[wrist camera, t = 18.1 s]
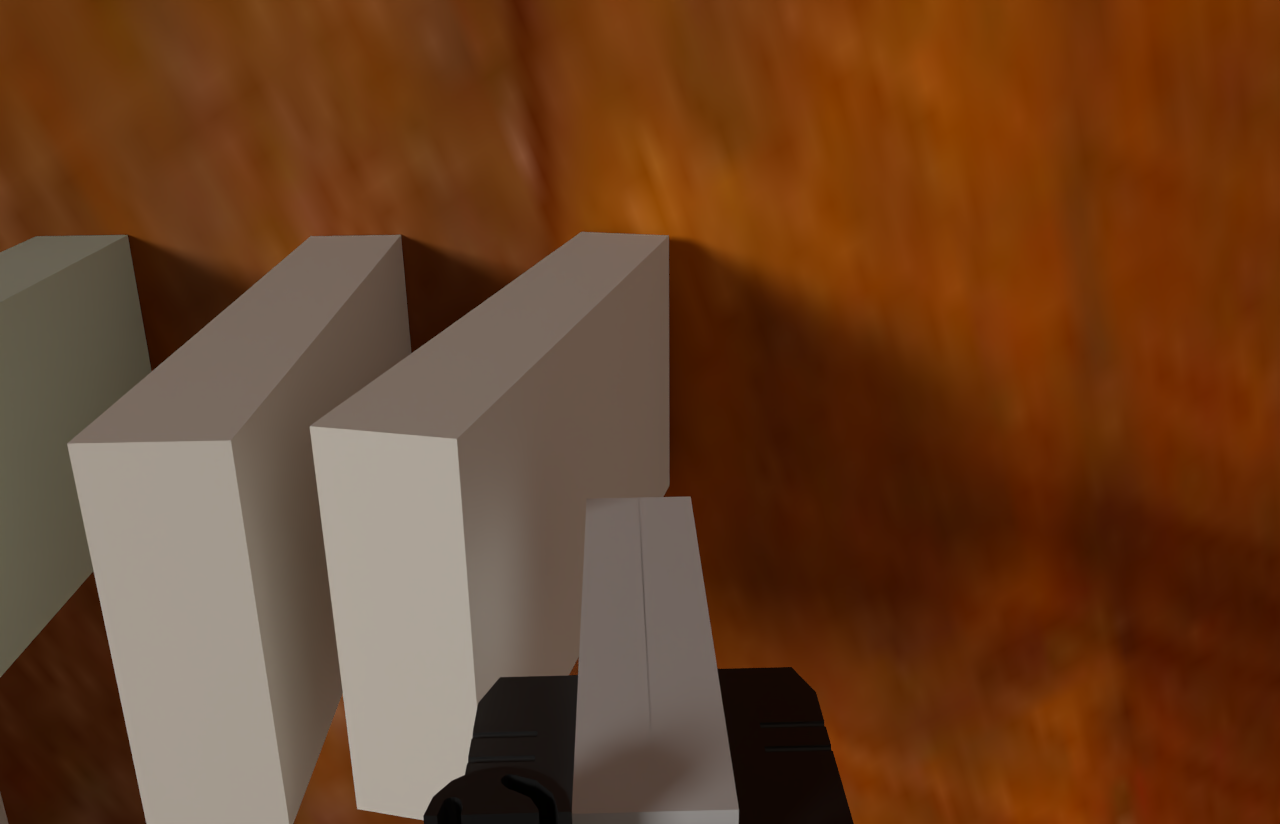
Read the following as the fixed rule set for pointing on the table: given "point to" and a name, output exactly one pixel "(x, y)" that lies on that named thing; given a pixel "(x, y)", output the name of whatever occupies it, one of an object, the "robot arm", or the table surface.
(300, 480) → the domino
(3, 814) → the domino
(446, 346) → the domino
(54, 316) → the domino
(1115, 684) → the table surface
